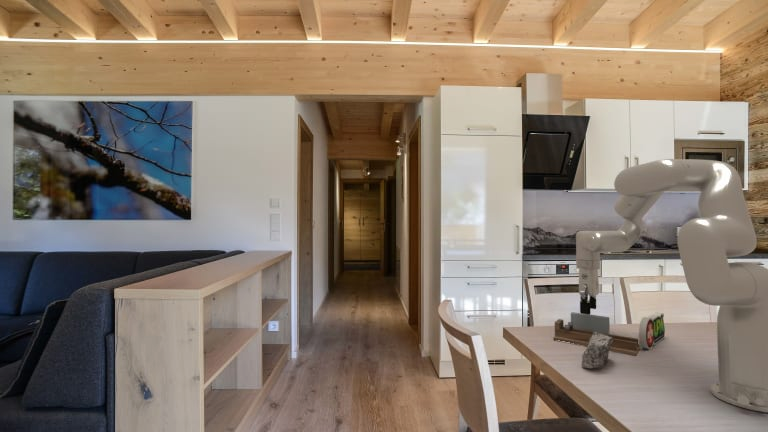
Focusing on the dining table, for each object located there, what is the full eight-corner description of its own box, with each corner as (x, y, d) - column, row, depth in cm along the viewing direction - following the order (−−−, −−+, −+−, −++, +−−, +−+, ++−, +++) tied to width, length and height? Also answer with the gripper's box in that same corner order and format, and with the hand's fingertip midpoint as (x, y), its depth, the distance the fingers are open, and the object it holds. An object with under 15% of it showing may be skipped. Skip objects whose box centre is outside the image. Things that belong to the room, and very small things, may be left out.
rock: (598, 375, 96) (601, 337, 97) (566, 365, 102) (569, 329, 103) (620, 371, 105) (622, 336, 106) (589, 361, 112) (592, 329, 113)
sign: (658, 337, 129) (658, 309, 130) (665, 338, 128) (664, 310, 128) (639, 350, 115) (638, 319, 116) (646, 352, 114) (645, 320, 114)
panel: (608, 341, 125) (608, 318, 125) (571, 334, 133) (570, 313, 133) (609, 339, 127) (609, 317, 127) (572, 333, 135) (572, 312, 135)
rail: (635, 355, 111) (635, 336, 111) (553, 340, 126) (553, 323, 127) (639, 348, 117) (638, 330, 118) (560, 334, 133) (560, 318, 133)
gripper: (594, 267, 122) (595, 317, 122) (604, 262, 135) (604, 308, 135) (570, 265, 127) (570, 314, 127) (582, 261, 140) (582, 305, 140)
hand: (588, 310), depth 131 cm, fingers open, 9 cm apart
